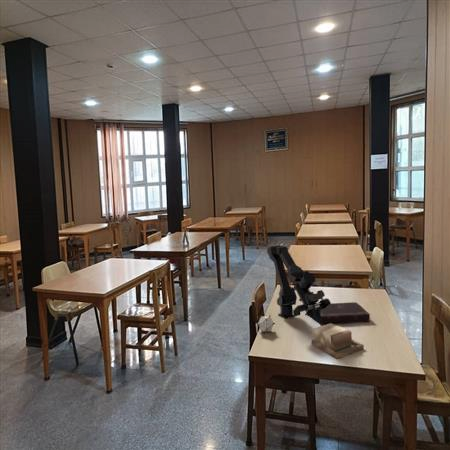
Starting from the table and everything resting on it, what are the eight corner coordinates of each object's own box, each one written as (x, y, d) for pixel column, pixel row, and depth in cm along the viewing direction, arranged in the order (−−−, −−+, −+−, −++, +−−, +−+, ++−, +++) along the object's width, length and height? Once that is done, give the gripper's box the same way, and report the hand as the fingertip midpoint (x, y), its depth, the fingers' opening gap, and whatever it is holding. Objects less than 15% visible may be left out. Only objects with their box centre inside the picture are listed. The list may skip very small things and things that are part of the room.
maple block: (314, 328, 164) (334, 337, 153) (331, 323, 168) (351, 331, 158) (314, 341, 164) (334, 350, 154) (331, 335, 169) (351, 344, 158)
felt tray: (311, 344, 162) (311, 340, 162) (337, 335, 169) (337, 332, 169) (336, 358, 149) (336, 354, 149) (363, 349, 156) (363, 345, 156)
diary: (370, 323, 182) (370, 313, 182) (320, 326, 181) (320, 316, 180) (354, 309, 201) (354, 300, 200) (309, 312, 200) (309, 303, 199)
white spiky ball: (268, 337, 179) (277, 318, 181) (270, 338, 171) (280, 319, 173) (251, 328, 180) (261, 309, 182) (253, 329, 171) (263, 309, 173)
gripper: (296, 288, 165) (313, 320, 157) (327, 281, 173) (345, 311, 165) (286, 300, 173) (301, 331, 164) (316, 293, 181) (332, 322, 173)
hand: (321, 323), depth 167 cm, fingers closed
